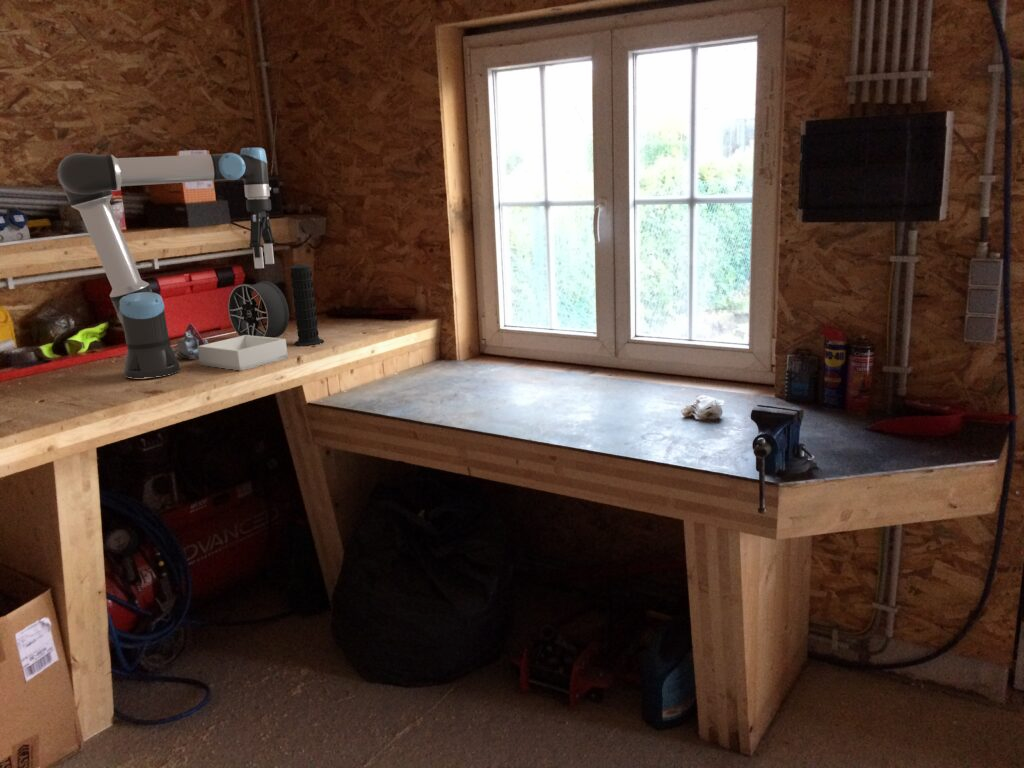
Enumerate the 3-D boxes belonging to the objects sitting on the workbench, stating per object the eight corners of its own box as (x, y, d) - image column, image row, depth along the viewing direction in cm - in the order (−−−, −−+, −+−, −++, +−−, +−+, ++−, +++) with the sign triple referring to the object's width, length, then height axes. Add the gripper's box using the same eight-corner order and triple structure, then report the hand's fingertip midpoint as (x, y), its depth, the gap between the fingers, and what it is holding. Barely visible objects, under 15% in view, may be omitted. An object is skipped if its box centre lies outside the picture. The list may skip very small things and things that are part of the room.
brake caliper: (223, 346, 275) (200, 321, 267) (203, 373, 270) (179, 348, 261) (200, 344, 281) (177, 319, 273) (181, 370, 276) (156, 346, 268)
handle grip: (319, 345, 281) (328, 339, 290) (310, 264, 274) (319, 261, 284) (289, 346, 282) (299, 340, 291) (279, 266, 275) (290, 262, 285)
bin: (240, 371, 250) (237, 351, 249) (200, 365, 261) (197, 346, 259) (287, 358, 264) (285, 339, 263) (247, 353, 275) (245, 334, 274)
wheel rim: (232, 340, 297) (224, 283, 292) (253, 335, 305) (246, 279, 300) (271, 345, 286) (264, 285, 281) (292, 339, 294) (285, 281, 289)
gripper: (260, 199, 258) (267, 269, 263) (279, 197, 282) (285, 261, 288) (235, 199, 258) (242, 270, 263) (256, 197, 282) (262, 262, 287)
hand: (264, 266), depth 275 cm, fingers open, 13 cm apart
